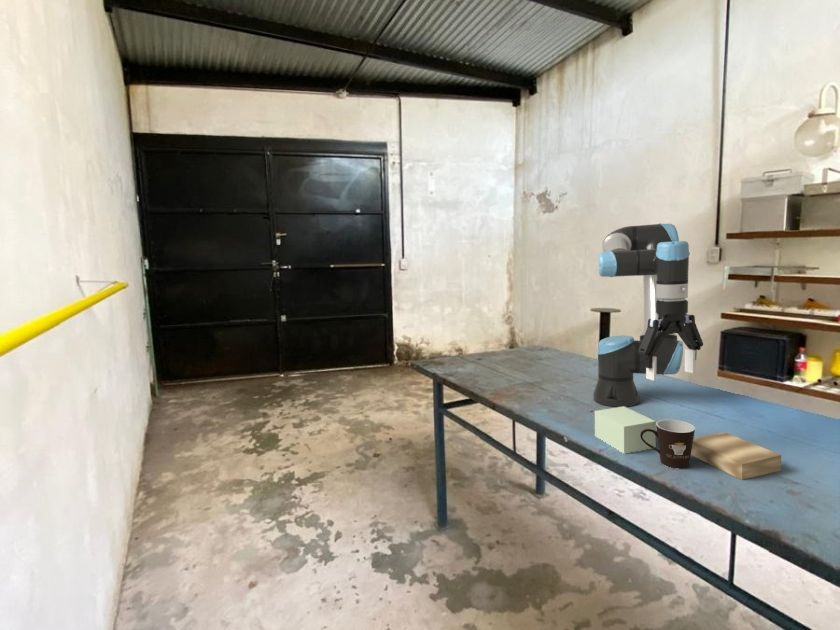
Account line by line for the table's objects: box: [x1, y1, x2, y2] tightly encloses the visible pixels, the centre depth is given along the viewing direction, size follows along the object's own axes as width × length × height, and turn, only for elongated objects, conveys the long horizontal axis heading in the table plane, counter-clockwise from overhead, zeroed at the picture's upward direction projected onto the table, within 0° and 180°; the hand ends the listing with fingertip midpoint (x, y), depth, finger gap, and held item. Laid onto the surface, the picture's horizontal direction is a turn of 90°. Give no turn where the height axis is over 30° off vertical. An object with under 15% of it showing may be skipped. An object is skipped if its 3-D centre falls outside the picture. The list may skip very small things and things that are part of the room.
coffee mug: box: [640, 419, 696, 470], centre depth 115 cm, size 12×9×10 cm
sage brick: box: [594, 406, 657, 455], centre depth 129 cm, size 13×10×8 cm
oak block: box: [691, 431, 782, 481], centre depth 114 cm, size 15×12×4 cm
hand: (670, 375), depth 123 cm, fingers open, 13 cm apart
